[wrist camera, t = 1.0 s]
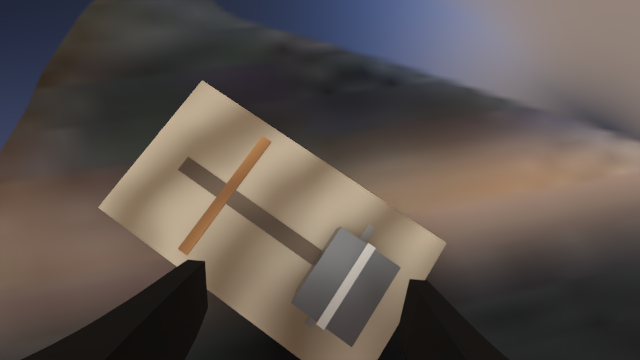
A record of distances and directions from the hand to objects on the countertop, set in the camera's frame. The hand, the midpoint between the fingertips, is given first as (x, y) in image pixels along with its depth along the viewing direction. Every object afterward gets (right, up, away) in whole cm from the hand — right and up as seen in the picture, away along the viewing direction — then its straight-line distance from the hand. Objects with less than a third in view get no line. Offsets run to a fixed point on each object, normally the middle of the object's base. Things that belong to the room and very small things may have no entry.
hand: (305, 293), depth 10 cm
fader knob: (+2, -3, +10) cm, 10 cm away
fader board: (-3, +1, +12) cm, 13 cm away
